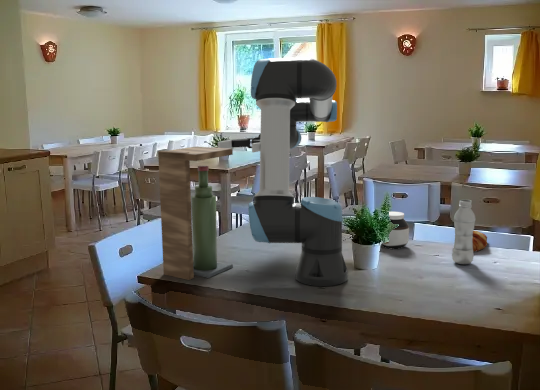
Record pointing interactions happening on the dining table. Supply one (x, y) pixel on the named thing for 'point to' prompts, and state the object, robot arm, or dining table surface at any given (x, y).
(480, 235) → the croissant
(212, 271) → the seat pad
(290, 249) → the dining table surface
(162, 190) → the shelf
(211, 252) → the wine bottle
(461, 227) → the plastic bottle
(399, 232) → the spread jar
